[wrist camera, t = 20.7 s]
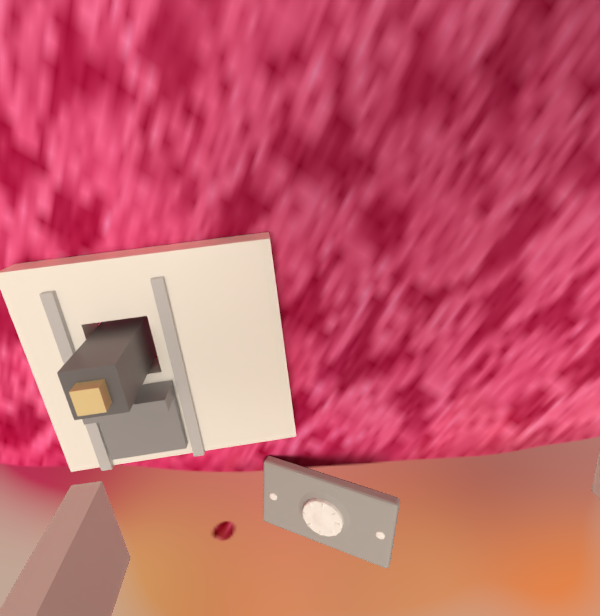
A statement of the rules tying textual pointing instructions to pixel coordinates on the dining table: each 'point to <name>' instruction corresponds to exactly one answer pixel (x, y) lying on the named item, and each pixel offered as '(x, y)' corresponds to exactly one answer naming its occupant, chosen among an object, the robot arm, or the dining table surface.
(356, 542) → the light switch
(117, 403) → the plug
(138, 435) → the shutter
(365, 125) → the dining table surface
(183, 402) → the socket board
